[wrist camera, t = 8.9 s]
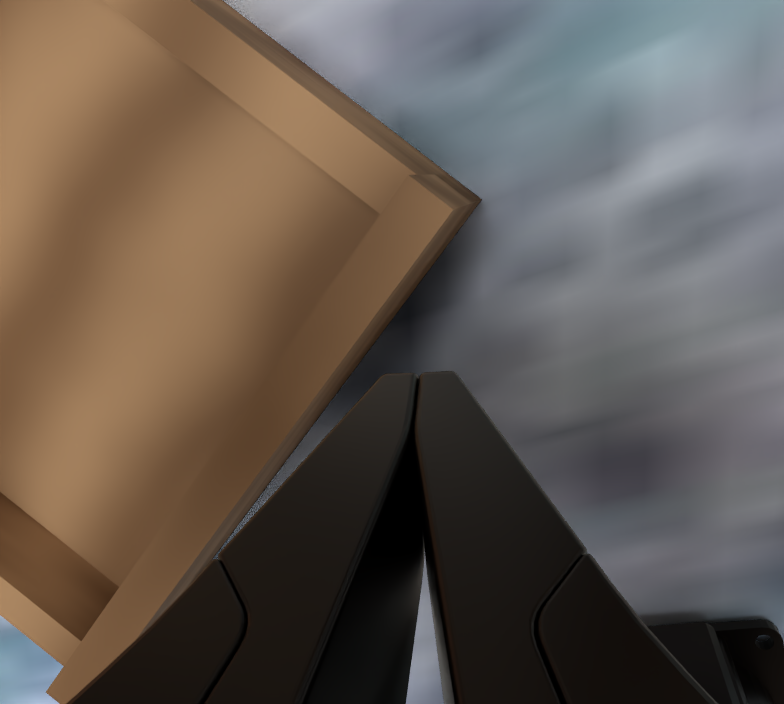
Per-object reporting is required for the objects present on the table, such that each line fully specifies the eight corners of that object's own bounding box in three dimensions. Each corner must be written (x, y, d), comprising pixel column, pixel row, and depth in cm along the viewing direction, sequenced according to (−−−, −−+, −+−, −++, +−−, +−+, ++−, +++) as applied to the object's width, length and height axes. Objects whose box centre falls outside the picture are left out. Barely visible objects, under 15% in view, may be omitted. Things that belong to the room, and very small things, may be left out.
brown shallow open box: (481, 199, 21) (453, 209, 15) (181, 601, 26) (78, 718, 21) (51, -132, 21) (-134, -243, 16) (-153, 334, 27) (-343, 377, 21)
